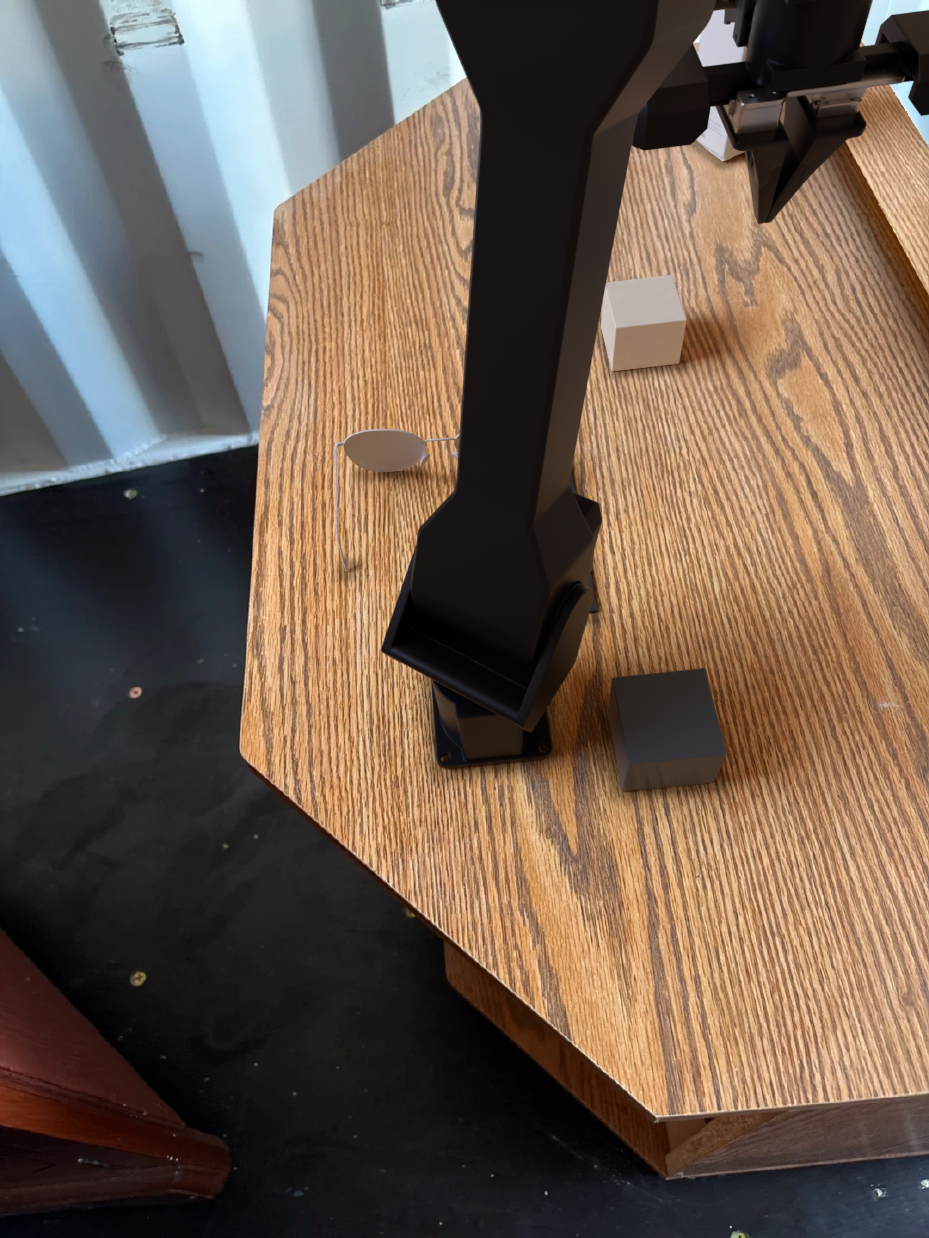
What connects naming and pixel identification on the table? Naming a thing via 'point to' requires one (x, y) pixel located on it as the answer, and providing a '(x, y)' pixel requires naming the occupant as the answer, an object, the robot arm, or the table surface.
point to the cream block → (642, 323)
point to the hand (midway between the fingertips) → (762, 219)
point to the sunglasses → (384, 454)
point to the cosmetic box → (716, 51)
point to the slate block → (665, 729)
